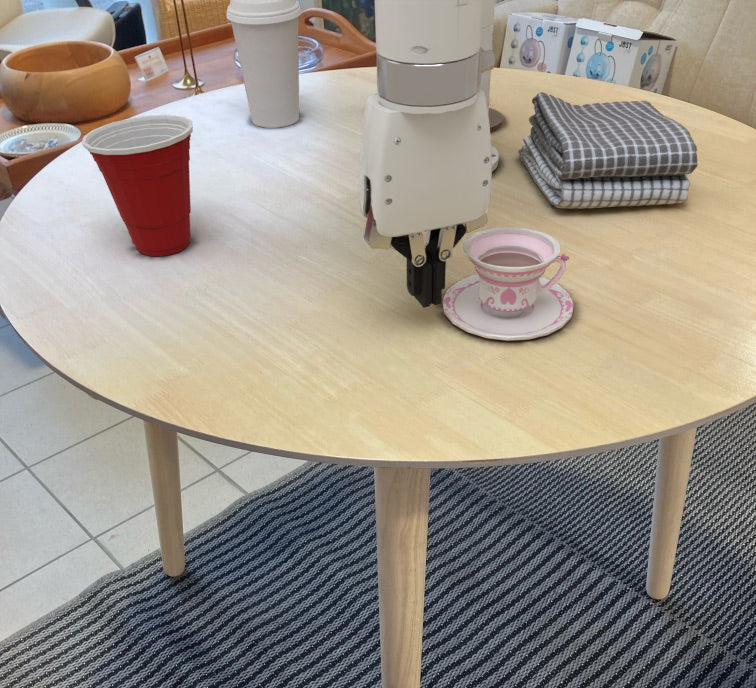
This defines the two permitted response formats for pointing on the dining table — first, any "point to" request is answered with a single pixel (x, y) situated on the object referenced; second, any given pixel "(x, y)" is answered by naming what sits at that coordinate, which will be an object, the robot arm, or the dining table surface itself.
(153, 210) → the plastic cup
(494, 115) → the coaster
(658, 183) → the towel
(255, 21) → the coffee cup
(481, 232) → the teacup
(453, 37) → the robot arm
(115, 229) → the dining table surface
